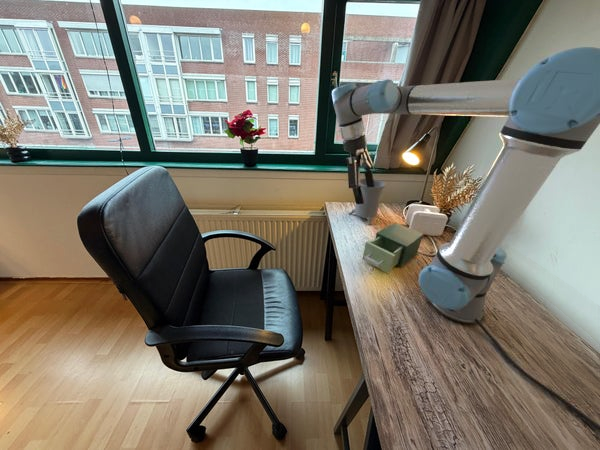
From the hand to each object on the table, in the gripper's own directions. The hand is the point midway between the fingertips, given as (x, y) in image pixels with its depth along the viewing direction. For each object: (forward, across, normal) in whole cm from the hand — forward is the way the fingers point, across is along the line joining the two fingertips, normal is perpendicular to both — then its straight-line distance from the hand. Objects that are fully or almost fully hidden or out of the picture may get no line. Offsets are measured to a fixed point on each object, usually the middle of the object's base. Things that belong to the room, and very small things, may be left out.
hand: (365, 194), depth 90 cm
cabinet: (+29, -3, +5) cm, 30 cm away
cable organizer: (+37, -32, +11) cm, 50 cm away
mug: (+27, -30, -16) cm, 44 cm away
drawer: (+26, +7, +3) cm, 27 cm away
